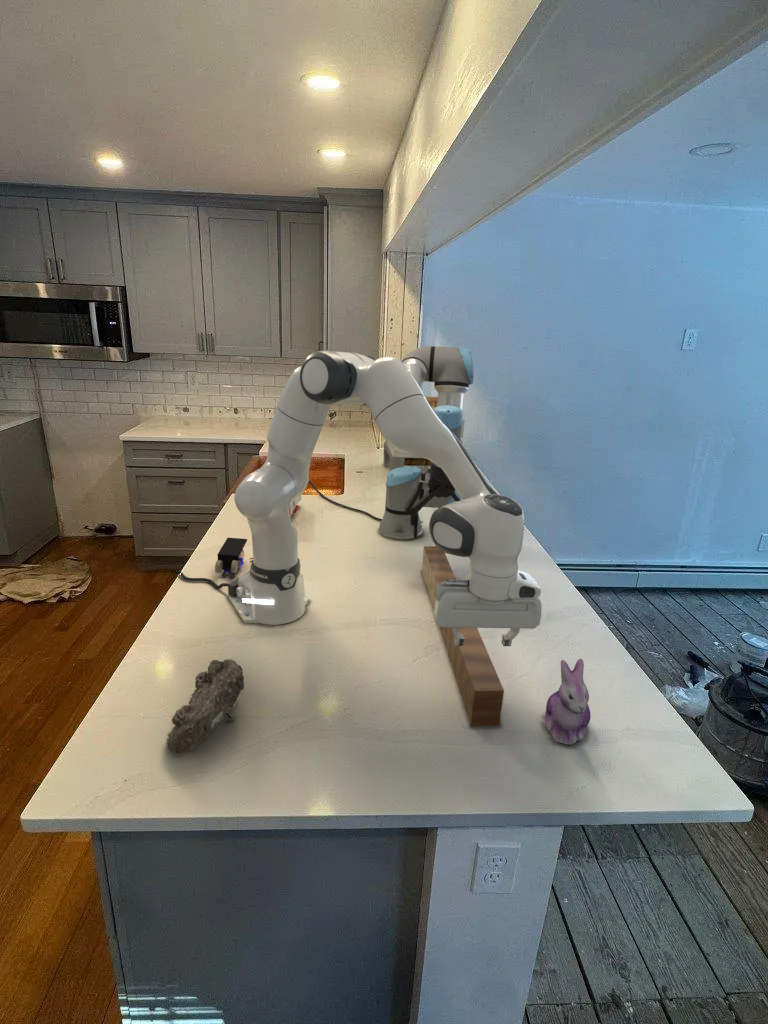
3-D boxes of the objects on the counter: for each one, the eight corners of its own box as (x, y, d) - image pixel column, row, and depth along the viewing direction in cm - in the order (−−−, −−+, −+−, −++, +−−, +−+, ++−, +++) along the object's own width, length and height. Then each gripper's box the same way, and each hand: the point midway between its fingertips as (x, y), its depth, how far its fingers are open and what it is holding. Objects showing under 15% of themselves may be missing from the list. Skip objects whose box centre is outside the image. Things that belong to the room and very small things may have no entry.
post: (421, 570, 172) (423, 546, 169) (440, 571, 173) (442, 546, 170) (470, 726, 109) (474, 690, 106) (499, 726, 109) (504, 690, 106)
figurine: (568, 754, 103) (581, 685, 97) (530, 719, 111) (540, 654, 106) (605, 739, 107) (619, 671, 102) (565, 706, 115) (577, 642, 110)
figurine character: (238, 584, 162) (249, 557, 175) (236, 562, 158) (247, 536, 172) (215, 584, 161) (227, 556, 175) (212, 561, 158) (225, 535, 171)
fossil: (192, 660, 117) (244, 628, 112) (224, 691, 120) (276, 661, 115) (142, 746, 98) (202, 712, 93) (182, 779, 101) (242, 748, 96)
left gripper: (439, 587, 102) (432, 653, 107) (549, 590, 104) (537, 654, 109) (434, 572, 108) (427, 634, 113) (538, 574, 110) (527, 636, 115)
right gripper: (400, 467, 149) (396, 540, 157) (492, 468, 152) (484, 541, 159) (397, 459, 156) (393, 530, 164) (485, 461, 159) (478, 530, 166)
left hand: (482, 644), depth 111 cm, fingers open, 8 cm apart
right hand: (438, 535), depth 162 cm, fingers open, 13 cm apart
